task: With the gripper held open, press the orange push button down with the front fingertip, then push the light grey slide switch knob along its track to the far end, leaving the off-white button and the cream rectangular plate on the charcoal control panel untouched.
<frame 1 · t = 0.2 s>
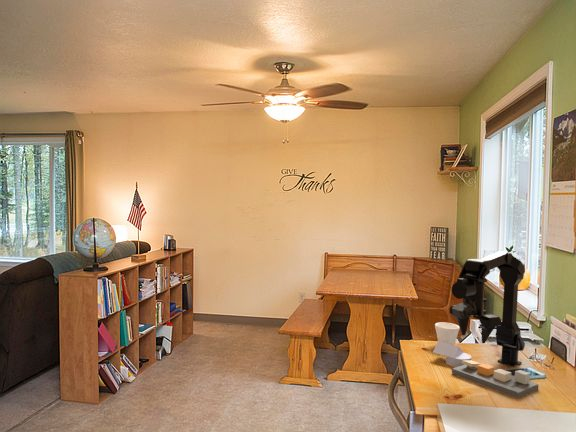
hand: (473, 339, 162), 14 cm above the table, tool pointing down, fingers open, 9 cm apart
orange button: (485, 369, 162), point 3 cm above the table, slide at 0.0 cm
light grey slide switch: (522, 377, 154), point 4 cm above the table, slide at 0.0 cm
control panel: (493, 381, 159), on the table
off-white button: (502, 375, 157), point 3 cm above the table, slide at 0.0 cm
wedge on round base: (453, 363, 177), on the table
cream rectangular plate: (471, 363, 166), point 4 cm above the table, hinge at -10.0°
cup: (446, 347, 196), on the table
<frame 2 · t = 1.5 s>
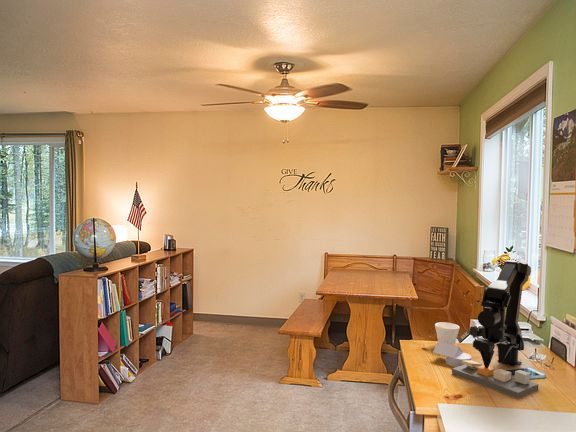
hand: (493, 365, 164), 4 cm above the table, tool pointing down, fingers open, 9 cm apart
orange button: (485, 371, 162), point 3 cm above the table, slide at -0.6 cm, touching gripper
everything else where it was.
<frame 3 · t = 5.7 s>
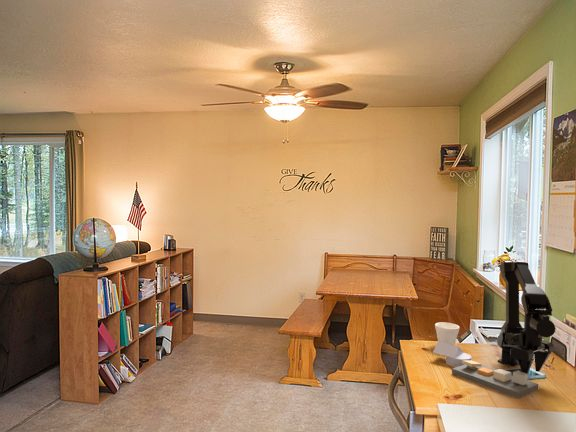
hand: (531, 373, 157), 4 cm above the table, tool pointing down, fingers open, 9 cm apart
orange button: (485, 373, 162), point 2 cm above the table, slide at -1.4 cm
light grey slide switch: (520, 377, 153), point 4 cm above the table, slide at 1.3 cm, touching gripper
everything else where it was.
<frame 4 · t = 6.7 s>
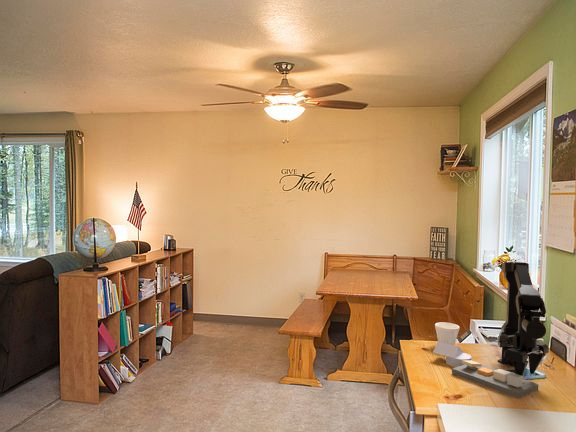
hand: (525, 376, 155), 4 cm above the table, tool pointing down, fingers open, 8 cm apart
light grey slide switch: (514, 379, 151), point 4 cm above the table, slide at 4.6 cm, touching gripper
everything else where it was.
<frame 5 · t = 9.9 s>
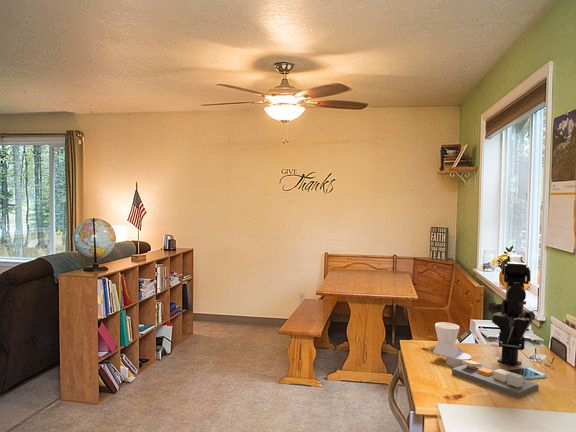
hand: (512, 341, 164), 13 cm above the table, tool pointing down, fingers open, 9 cm apart
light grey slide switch: (515, 379, 151), point 4 cm above the table, slide at 4.6 cm
everything else where it was.
at the end: orange button slide at -1.4 cm; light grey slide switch slide at 4.6 cm; off-white button slide at 0.0 cm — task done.
